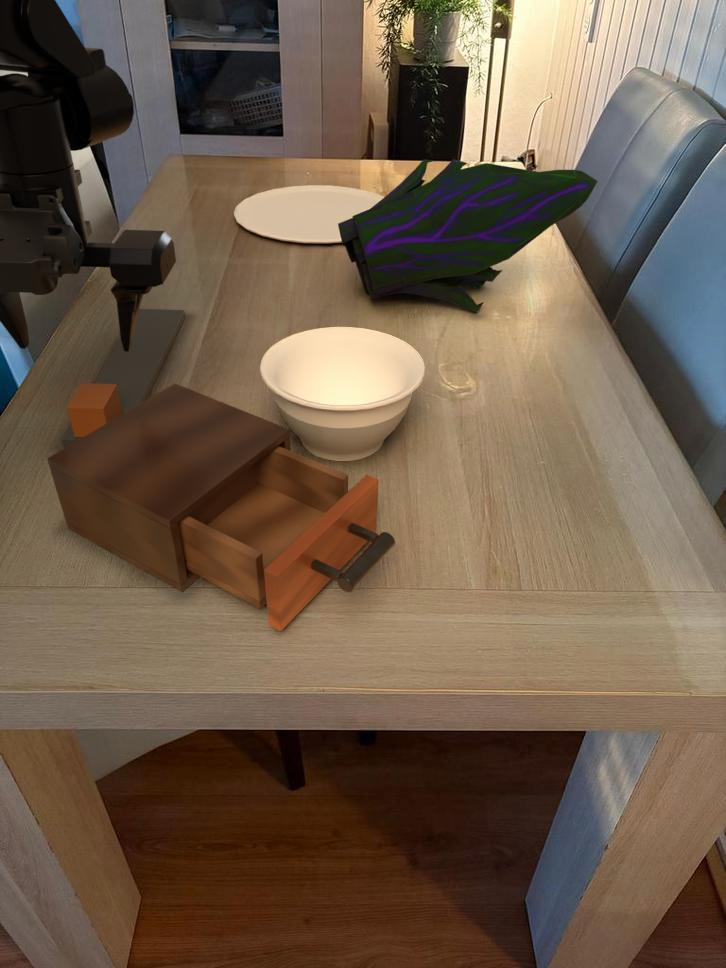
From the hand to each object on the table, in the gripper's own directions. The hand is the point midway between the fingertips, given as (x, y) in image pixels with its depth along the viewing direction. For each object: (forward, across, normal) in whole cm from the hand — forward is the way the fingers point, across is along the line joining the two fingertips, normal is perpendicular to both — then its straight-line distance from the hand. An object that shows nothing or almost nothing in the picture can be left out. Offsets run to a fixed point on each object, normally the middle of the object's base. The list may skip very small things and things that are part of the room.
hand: (76, 348), depth 67 cm
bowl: (+12, +24, +4) cm, 27 cm away
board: (+11, -1, +16) cm, 19 cm away
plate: (+11, +17, +71) cm, 74 cm away
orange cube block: (+10, -1, +3) cm, 11 cm away
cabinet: (+12, +10, -9) cm, 18 cm away
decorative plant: (+11, +37, +40) cm, 55 cm away
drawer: (+11, +20, -15) cm, 27 cm away
